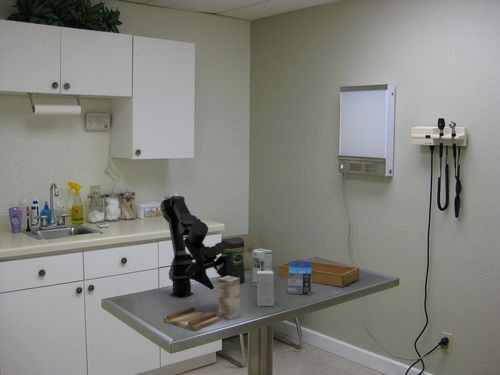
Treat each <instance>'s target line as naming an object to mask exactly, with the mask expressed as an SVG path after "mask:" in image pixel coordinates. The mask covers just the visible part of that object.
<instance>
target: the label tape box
mask: <svg viewBox="0 0 500 375" xmlns="http://www.w3.org/2000/svg"><path fill="white" fill-rule="evenodd" d="M310 261H311V260H308V261H292V260H289V261H288V262H289V271H288V278H287V294H289V295H290V294H293V295H307V296H308V295H311V294H312V282H311V273H312V268H311V262H310ZM300 263H301V264H304V266H301V265H297V264H300Z"/></svg>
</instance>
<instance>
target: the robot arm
mask: <svg viewBox="0 0 500 375" xmlns="http://www.w3.org/2000/svg"><path fill="white" fill-rule="evenodd" d="M160 212H162V218H163V219H164V220H165V221H167V223H168V227H169V232H170V239H171V244H172V250H173V251H172V252H173V259H172V261H171V265H170V268H169V271H168V278H169V280H170V281H171V282H172V292H170V293H169V295H170V296H173V297H176V298H181V299H182V298H185V297H188V296H191V295H194V292H192V289H191V288H192V286H191V285H192V283H191V281H195V282H197V283H199V284H201V285H203V286H204V287H206V288H208V289H210V290H212V291H213V290H214V289H215V287H214V284H213V282H212V281H211V280H210V278H209V276H208V274H207V270H208V269H211V268H213V269H214V270H216V273H217V274H218V275H219V276H220V278H221V277H226V276H230V274H229V269H228V266H229V264H230V261H231V260H232V259H231V258H230V256H229V255H221V254H223V253H224V250H225V246H224V245H223V243H222V242H221V241H220V242H218V243H214V244H215V245H213V246H208V245H207V246H206V245H205V244H204V241H205V239H206V237H207V234H208V232H209V226H208V225H207V224H206V223H205V222H203V221H202V220H201V218H198V217H197V216H195V215H193V214H191V212H190V210H189V208H188V206H187V204H186V202H185V196H182V195H179V196H178V195H176V196H174V195H173V196H172V195H171V196H170V197H169V198H166V199H164V200H162V201H161V203H160ZM184 236H186V237H185V238H184ZM186 249H187V251H188V252H189V253H188V252H187V251H186ZM219 255H220V256H219ZM193 261H195V262H193Z"/></svg>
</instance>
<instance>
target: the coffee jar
mask: <svg viewBox="0 0 500 375" xmlns="http://www.w3.org/2000/svg"><path fill="white" fill-rule="evenodd" d="M220 242H222V243H223V245H224V246H225V250H224V253H223V254H222V253H221V254H222V255H229V256H230V258H231V259H232V260H231V261H230V264H229V266H228V269H229V274H230V276H232V277H237V278H240V284H242V283H244V282H245V280H246V275H245V264H244V251H245V240H244V238H241V237H239V236H237V237H229V238H223V239H221V241H220ZM222 255H221V256H222ZM220 278H222V277H221V276H220Z"/></svg>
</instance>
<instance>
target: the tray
mask: <svg viewBox="0 0 500 375" xmlns="http://www.w3.org/2000/svg"><path fill="white" fill-rule="evenodd" d="M291 261H310V262H311V268H312V273H311V283H316V284H320V285H321V284H322V285H328V286H334V287H340V288H344V287H345V286H348V285H350V284H352V283H353V282H356V281H358V280H359V278H360V267H355V266H348V265H341V264H335V263H327V262H320V261H316V260H314V261H313V260H307V259H300V258H299V259H298V258H295V259H292V260H291ZM297 265H301V266H304V264H301V263H300V264H297ZM288 271H289V261H287V262H284V263H281V264H278V265H277V272H278V274H277V275H278V277H281V278H287V279H288Z"/></svg>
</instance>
